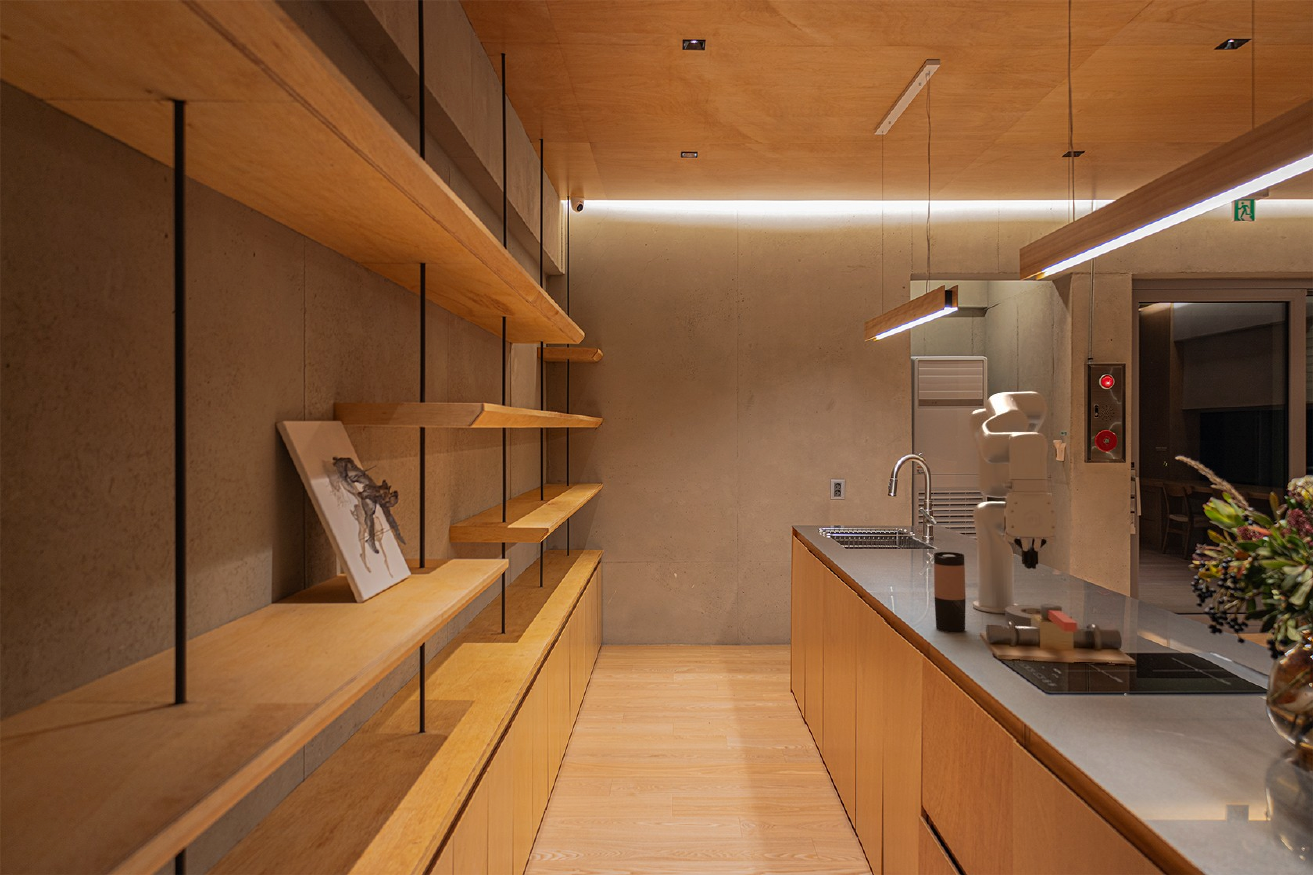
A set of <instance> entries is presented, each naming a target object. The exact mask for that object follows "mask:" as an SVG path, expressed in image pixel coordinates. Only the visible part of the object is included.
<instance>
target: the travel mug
mask: <svg viewBox="0 0 1313 875" xmlns="http://www.w3.org/2000/svg"><path fill="white" fill-rule="evenodd" d="M933 563H934V564H933V573H934V574H933V580H934V581H933V582H934V583H933V584H934V593H933V594H934V610H935V611H934V612H935V614H934V615H935V629H937V630H938V631H940V632H944V633H949V634H951V633H952V634H959V633H963V632H965V631H966V607H967V606H966V604H967V602H966V600H967V599H966V596H967V595H966V568H965V567H966V566H965V565H966V564H965V554H963V553H962V552H961V553H959V552H953V551H940V552H939V551H938V552H934V554H933Z"/></svg>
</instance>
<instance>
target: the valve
mask: <svg viewBox="0 0 1313 875" xmlns="http://www.w3.org/2000/svg"><path fill="white" fill-rule="evenodd" d="M985 633H986V636H987V641H988V643H990V644H1009V645H1010V646H1011V647H1016V646H1017V645H1036V646H1037V647H1038V648H1039V649H1040V650H1062V651H1074V649H1073V647H1082V648H1092V649H1094V650H1095V651H1101V649H1102V648H1104V649H1119V650H1120V649H1121V648H1122V644H1123V641H1122V640H1123V639H1122V635H1121V633H1120V630H1118V629H1112V628H1110V629H1109V628H1100V627H1099V626H1098V625H1097V624H1095V623H1094V624H1093V623H1092V624H1090V623H1089V624H1087V626H1086V627H1085V628H1083V627H1082V628H1081V627H1077V632H1069V631H1064V630H1062V629H1061V628H1060V627H1059V626H1057V625H1056V624H1055V623H1054V622H1052V621H1051V620H1050V619H1045V618H1042V617H1041V615H1035V614H1031V626H1015V624H1014V622H1013V621H1006V622H1005V621H1004V625H1003V624H987V625H986V628H985Z"/></svg>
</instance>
